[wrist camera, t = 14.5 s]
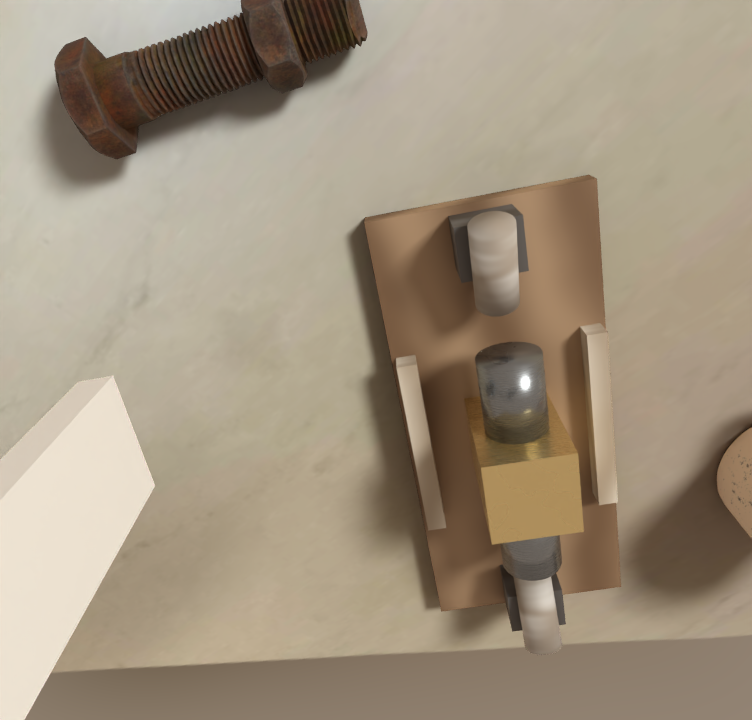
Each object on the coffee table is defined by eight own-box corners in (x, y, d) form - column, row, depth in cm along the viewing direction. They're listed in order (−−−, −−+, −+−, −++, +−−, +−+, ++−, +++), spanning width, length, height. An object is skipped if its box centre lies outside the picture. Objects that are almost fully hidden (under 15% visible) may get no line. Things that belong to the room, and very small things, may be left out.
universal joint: (481, 521, 45) (500, 607, 38) (454, 332, 40) (469, 391, 33) (555, 510, 45) (588, 595, 38) (537, 318, 40) (572, 374, 32)
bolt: (364, 30, 37) (115, 116, 38) (337, -68, 33) (61, 33, 34) (383, 84, 33) (107, 178, 35) (355, -19, 29) (46, 92, 31)
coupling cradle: (439, 597, 50) (448, 676, 43) (364, 216, 39) (360, 245, 32) (614, 572, 49) (650, 650, 42) (589, 173, 38) (632, 194, 31)
